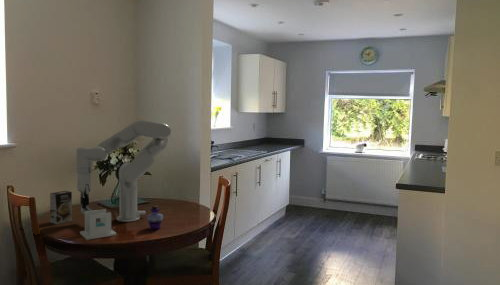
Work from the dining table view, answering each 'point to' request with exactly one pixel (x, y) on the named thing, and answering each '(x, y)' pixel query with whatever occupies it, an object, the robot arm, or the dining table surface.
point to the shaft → (86, 208)
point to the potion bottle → (154, 218)
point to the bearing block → (99, 231)
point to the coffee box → (60, 207)
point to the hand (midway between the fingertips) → (84, 204)
